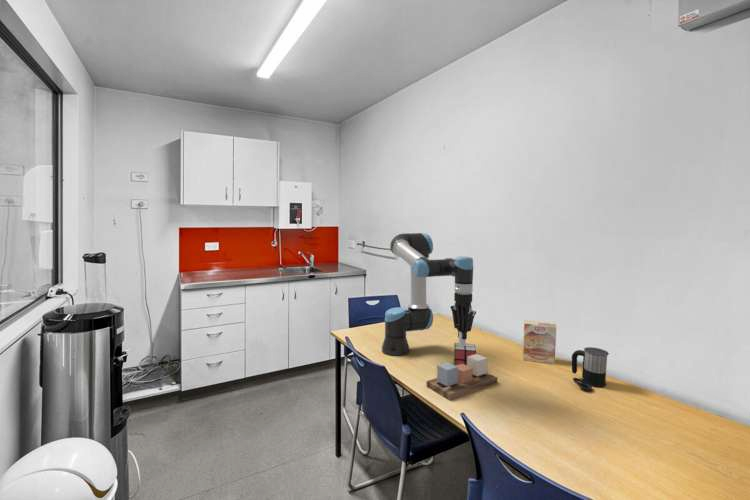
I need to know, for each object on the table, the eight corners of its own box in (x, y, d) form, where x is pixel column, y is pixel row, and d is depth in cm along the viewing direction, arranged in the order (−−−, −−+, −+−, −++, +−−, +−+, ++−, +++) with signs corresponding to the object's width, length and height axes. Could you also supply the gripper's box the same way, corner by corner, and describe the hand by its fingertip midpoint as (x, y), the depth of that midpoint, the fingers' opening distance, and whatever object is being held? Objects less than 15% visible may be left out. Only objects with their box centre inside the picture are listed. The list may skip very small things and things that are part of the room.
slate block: (437, 381, 155) (437, 365, 154) (447, 377, 158) (447, 362, 158) (447, 386, 150) (447, 370, 149) (457, 383, 153) (457, 367, 153)
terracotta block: (452, 381, 160) (452, 366, 159) (462, 378, 163) (462, 363, 163) (462, 387, 155) (462, 371, 154) (472, 383, 158) (472, 368, 158)
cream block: (467, 371, 165) (467, 356, 164) (476, 368, 168) (476, 353, 167) (477, 376, 160) (477, 360, 159) (486, 373, 163) (486, 358, 162)
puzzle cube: (475, 371, 174) (476, 350, 173) (454, 369, 176) (454, 349, 175) (474, 362, 183) (474, 343, 183) (454, 361, 185) (454, 342, 185)
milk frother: (603, 380, 164) (605, 348, 162) (613, 396, 149) (615, 361, 148) (568, 375, 168) (569, 344, 167) (574, 390, 154) (576, 357, 152)
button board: (426, 386, 157) (426, 381, 157) (473, 371, 173) (473, 366, 173) (449, 400, 146) (449, 394, 145) (497, 382, 161) (497, 377, 161)
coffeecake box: (522, 360, 187) (524, 323, 185) (522, 355, 193) (524, 319, 192) (555, 364, 181) (556, 326, 179) (553, 359, 188) (555, 322, 186)
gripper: (446, 291, 159) (445, 343, 162) (468, 296, 148) (467, 352, 151) (458, 289, 163) (457, 339, 166) (481, 294, 152) (479, 348, 155)
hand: (462, 345), depth 158 cm, fingers closed
